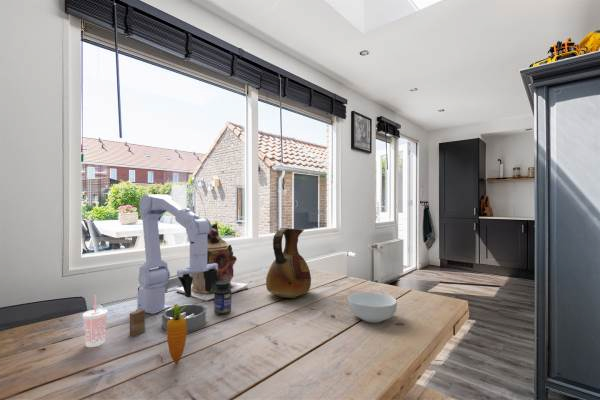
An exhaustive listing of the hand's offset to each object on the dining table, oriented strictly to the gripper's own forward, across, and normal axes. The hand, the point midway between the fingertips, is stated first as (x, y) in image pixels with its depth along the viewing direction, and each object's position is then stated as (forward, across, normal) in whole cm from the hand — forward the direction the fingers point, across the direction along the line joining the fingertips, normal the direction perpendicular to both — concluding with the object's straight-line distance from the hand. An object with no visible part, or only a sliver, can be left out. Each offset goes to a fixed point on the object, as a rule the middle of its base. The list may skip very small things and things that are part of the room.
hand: (198, 293), depth 102 cm
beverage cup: (+10, -27, +10) cm, 31 cm away
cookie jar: (+10, +26, +28) cm, 40 cm away
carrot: (+10, -18, -18) cm, 28 cm away
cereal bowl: (+10, +41, -44) cm, 61 cm away
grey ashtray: (+10, -3, +3) cm, 11 cm away
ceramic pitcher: (+10, +43, -4) cm, 44 cm away
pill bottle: (+10, +11, +2) cm, 15 cm away
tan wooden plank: (+10, -17, +7) cm, 21 cm away
